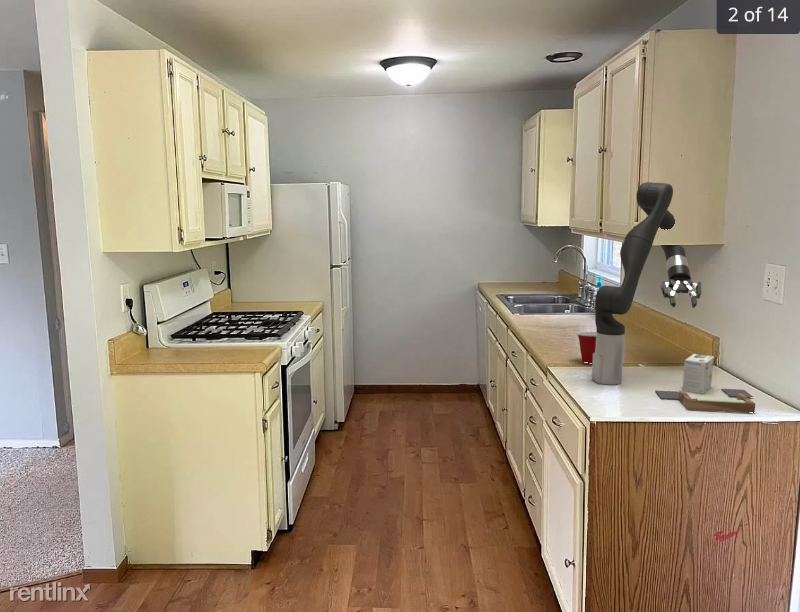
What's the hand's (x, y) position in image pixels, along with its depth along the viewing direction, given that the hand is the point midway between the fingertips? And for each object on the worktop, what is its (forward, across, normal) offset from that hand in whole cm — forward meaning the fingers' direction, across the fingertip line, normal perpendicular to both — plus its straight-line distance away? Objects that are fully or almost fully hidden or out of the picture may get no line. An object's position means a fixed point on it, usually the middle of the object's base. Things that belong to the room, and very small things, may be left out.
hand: (684, 306), depth 222 cm
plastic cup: (+12, -31, +23) cm, 40 cm away
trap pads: (+38, 0, -4) cm, 38 cm away
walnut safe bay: (+46, 0, -12) cm, 47 cm away
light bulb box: (+33, 0, +2) cm, 33 cm away
